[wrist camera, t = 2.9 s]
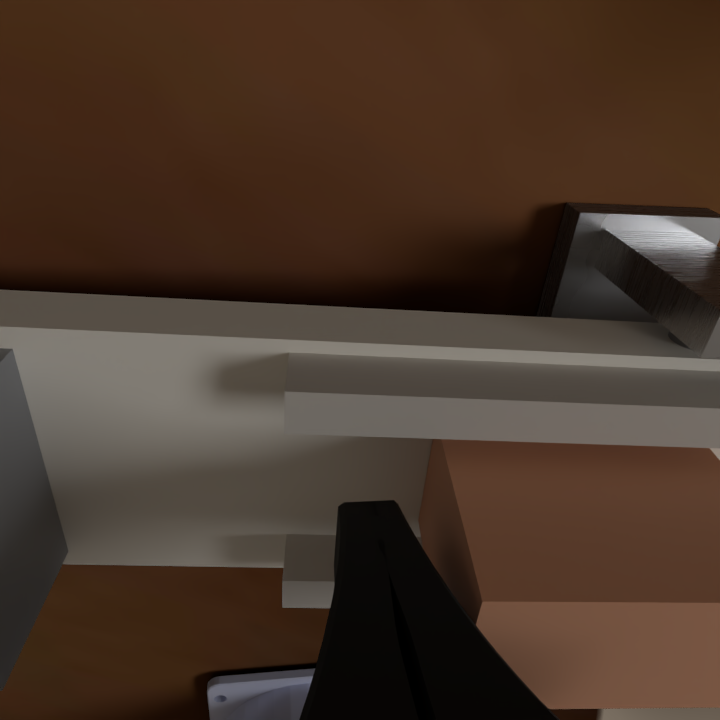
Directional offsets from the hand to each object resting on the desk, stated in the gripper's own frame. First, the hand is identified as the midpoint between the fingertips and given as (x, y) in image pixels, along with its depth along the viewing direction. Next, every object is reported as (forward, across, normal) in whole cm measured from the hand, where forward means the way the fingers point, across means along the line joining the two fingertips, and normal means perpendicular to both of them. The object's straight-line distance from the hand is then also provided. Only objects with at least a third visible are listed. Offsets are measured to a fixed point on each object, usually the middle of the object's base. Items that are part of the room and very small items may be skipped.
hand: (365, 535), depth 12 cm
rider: (+2, -5, 0) cm, 5 cm away
